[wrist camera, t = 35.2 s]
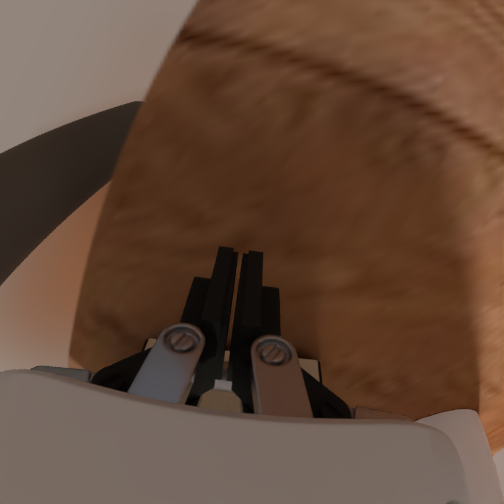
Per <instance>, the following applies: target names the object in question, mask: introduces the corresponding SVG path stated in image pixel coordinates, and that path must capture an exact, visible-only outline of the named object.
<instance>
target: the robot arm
mask: <svg viewBox="0 0 504 504" xmlns="http://www.w3.org/2000/svg"><path fill="white" fill-rule="evenodd" d="M237 260H238V252H233V248H229V247H222V246H219V250H218V253H217V257H216V261H215V265H214V269H213V273H212V277H211V279H208V278H201V277H194V279H193V282H192V285H191V288H190V292H189V295H188V298H187V301H186V304H185V308H184V311H183V314H182V317H181V321H180V323H174V324H171V325H169V326H167V327H165V328H164V329H163V330H162V332H161V333H160V335H159V336H158V338H157V340H156V342H155V343H154V345H153V347H151V348H148V349H146V350H144V351H142V352H139V353H137V354H135V355H133V356H130V357H128V358H126V359H124V360H121V361H119V362H117V363H114V364H112V365H110V366H107V367H105V368H103V369H101V370H100V371H98V372H97V373H91V372H90V370H87V369H73V368H61V367H50V366H36V367H34V368H32V369H30V370H27V369H20V370H7V371H3V372H0V504H472V500H471V495H470V491H469V486H468V482H467V478H466V475H465V471H464V468H463V465H462V462H461V459H460V456H459V454H458V452H457V449H456V447H455V445H454V444H453V442H452V440H451V439H450V438H449V437H448V436H447V435H446V434H445V433H443V432H442V431H440V430H438V429H436V428H434V427H431V426H428V425H425V424H421V423H418V422H415V421H414V420H413V419H412V418H410V417H409V416H406V415H403V414H397V413H391V412H386V411H380V410H375V409H370V408H365V407H360V406H356V407H355V408H350V407H348V405H347V404H346V403H345V402H344V401H343V400H341V399H340V398H339V397H338V396H336V395H335V394H334V393H333V392H331V391H330V390H329V389H328V388H326V387H325V386H324V385H323V384H321V383H320V382H319V381H318V380H316V379H315V378H314V377H313V376H311V375H310V374H309V373H308V372H307V371H305V370H304V369H303V368H302V367H300V363H299V359H298V355H297V352H296V349H295V347H294V345H293V344H292V343H291V342H290V341H289V340H287V339H285V338H284V337H281V332H280V298H279V288H275V287H267V286H262V272H263V252H258V251H251V250H249V253H248V254H245V253H243V257H242V264H241V271H240V279H239V286H238V293H237V300H236V308H235V315H234V323H233V331H232V339H231V347H230V354H229V362H228V370H227V378H226V381H231V382H232V386H231V390H232V391H233V392H234V393H235V394H236V395H237V396H238V397H239V398H240V413H239V412H231V411H223V410H216V409H209V408H202V407H200V404H201V402H202V398H203V394H204V393H206V392H207V391H209V390H211V389H213V388H214V386H215V379H216V380H221V379H222V372H223V364H224V357H225V350H226V343H227V336H228V329H229V322H230V315H231V307H232V299H233V292H234V284H235V276H236V268H237Z"/></svg>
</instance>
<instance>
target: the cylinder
mask: <svg viewBox="0 0 504 504" xmlns="http://www.w3.org/2000/svg"><path fill="white" fill-rule="evenodd" d="M415 422H418V423H421V424H425V425H428V426H431V427H434V428H436V429H438V430H440V431H442V432H443V433H445V434H446V435H447V436H448V437H449V438H450V439H451V440H452V442H453V444H454V445H455V447H456V449H457V452H458V454H459V456H460V459H461V462H462V465H463V468H464V471H465V475H466V478H467V482H468V486H469V491H470V495H471V500H472V504H504V498H503V494H502V489H501V485H500V482H499V478H498V474H497V470H496V467H495V463H494V460H493V456H492V453H491V450H490V447H489V444H488V440H487V437H486V434H485V431H484V429H483V426H482V423H481V420H480V417H479V415H478V413H477V412H476V411H474V410H470V409H457V410H452V411H447V412H442V413H438V414H435V415H432V416H428V417H425V418H422V419H419V420H417V421H415Z"/></svg>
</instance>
